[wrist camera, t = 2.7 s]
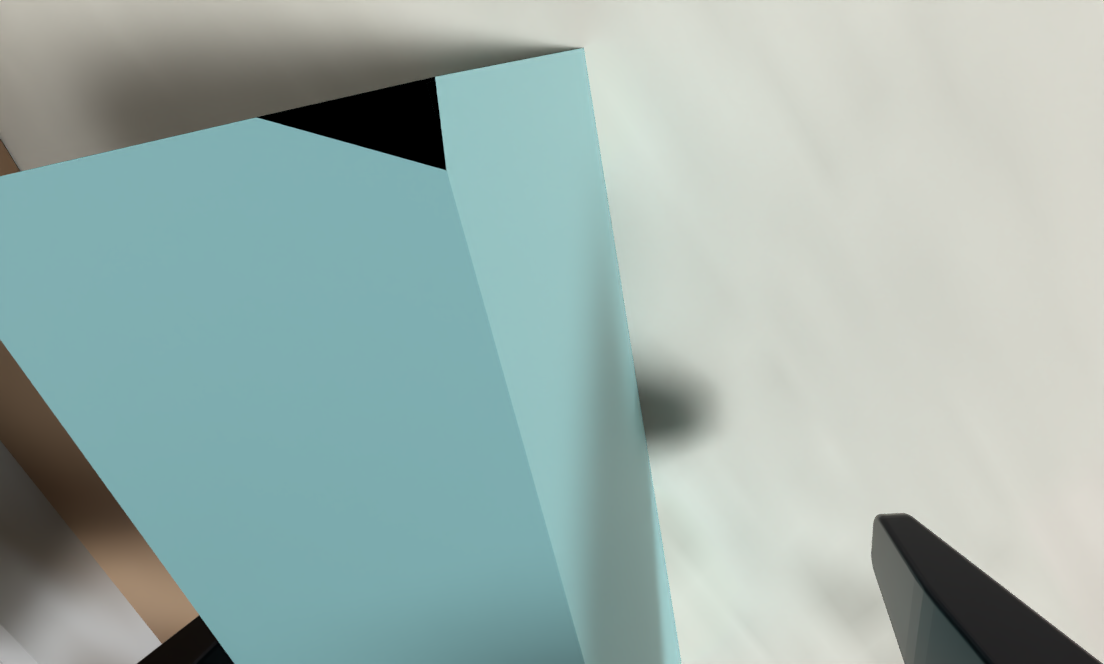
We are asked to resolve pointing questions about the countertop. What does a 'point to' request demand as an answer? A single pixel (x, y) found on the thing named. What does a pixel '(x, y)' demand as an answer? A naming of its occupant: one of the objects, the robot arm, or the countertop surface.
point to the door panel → (360, 372)
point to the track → (69, 545)
